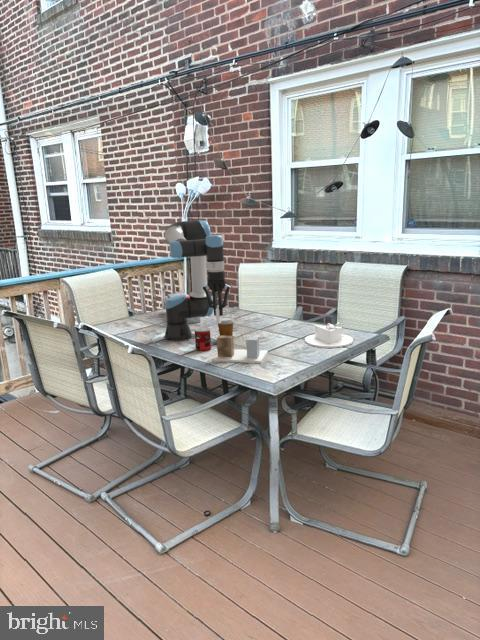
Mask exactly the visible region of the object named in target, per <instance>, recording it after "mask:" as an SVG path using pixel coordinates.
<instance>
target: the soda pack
mask: <svg viewBox="0 0 480 640" xmlns="http://www.w3.org/2000/svg"><path fill="white" fill-rule="evenodd" d="M179 295H185V296H186V298H190V294H187V293H185V292H183V291H182V292H176V293H167V296H166V297H167V299H168V298H171V297H174V296H179ZM191 323H195V324H200V323H201V317H197V318H188V325H192V324H191Z"/></svg>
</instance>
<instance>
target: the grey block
mask: <svg viewBox="0 0 480 640" xmlns="http://www.w3.org/2000/svg"><path fill="white" fill-rule="evenodd" d="M245 341H246V350H247V358H258V357H259V355H260V352H259V350H260V337H259V336H248V337H247V338H246V340H245Z"/></svg>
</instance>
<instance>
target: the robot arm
mask: <svg viewBox="0 0 480 640" xmlns="http://www.w3.org/2000/svg"><path fill="white" fill-rule="evenodd" d="M163 235H164V239H165V241H166V242H167V243H168V245H169V246H168V247H169V254H170V257H171V258H172V259H181V258H190V272H191V273H190V274H191V276H190V277H191V290H192V291H191V292H190V293H189V296H190V298H186V296H185V295H179V296H174V297H171V298H167V299H166V300H165V307H164V309H165V311H166V312H165V314H166V315H165V316H166V327H165V332H164V339H165V340H166V339H167V340H166V341H170V340H174V341H173V342H176V341H175V340H180V341H185V339H186V340H188V339H191V338H192V336H193V333H192V330H191V328H190V324H188V318H197V317H200V318H205V317H211V316H212V315H213V316H215V319H216V324H218V323H221V317H223V315H224V310H223V309H224V308H226V307H227V305H228V300H229V294H230V291H231V290H232V286H231V285H229V284H227V282H226V276H225V271H224V270H225V260H224V259H225V257H224V255H225V254H224V242H223V241H224V240H223V236H222V235H221V234H212V232H211V228H210V225H209V222H208V221H207V220H200V219H199V220H198V219H197V220H196V219H195V220H185V221H175V222H173V223H171V224H170V225H168V227H167V228H166V229H165V230H164V234H163ZM210 290H211V292H210ZM223 290H225V291H224V296H223ZM211 294H212V295H211Z"/></svg>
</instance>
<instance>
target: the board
mask: <svg viewBox="0 0 480 640" xmlns="http://www.w3.org/2000/svg"><path fill="white" fill-rule="evenodd" d="M259 352H260V355H259V357H258V358H247V349H238V348H237V349H236V348H234V357H233V358H218V352H217V353H216V354H215V355H213V357H211V361H212V362H226V363H227V362H228V363H229V362H230V363H250V364H262V362H263V361H264V359H265V358H266V356H267V355H268V353H269V350H268V349H267V350H263V349H259Z"/></svg>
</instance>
